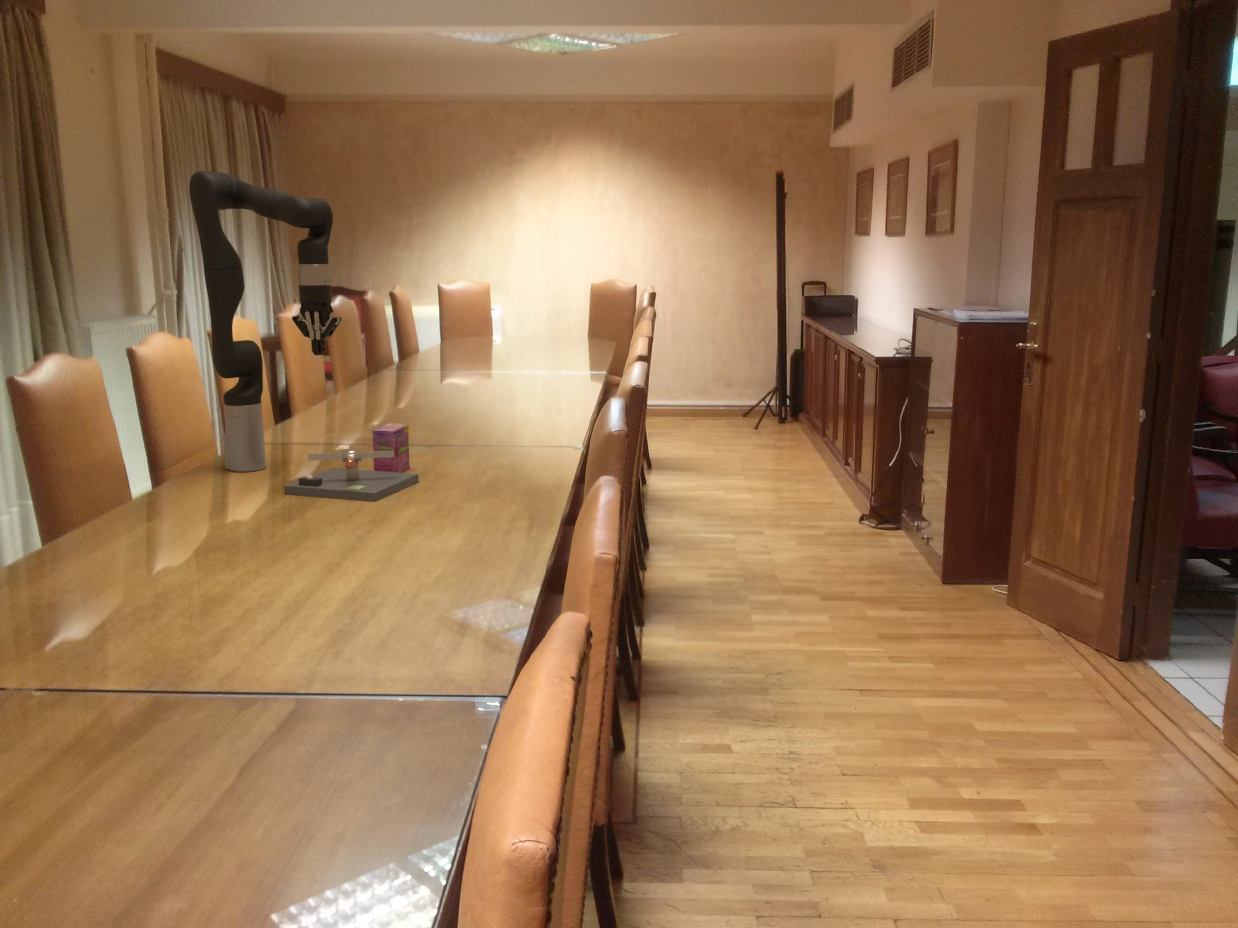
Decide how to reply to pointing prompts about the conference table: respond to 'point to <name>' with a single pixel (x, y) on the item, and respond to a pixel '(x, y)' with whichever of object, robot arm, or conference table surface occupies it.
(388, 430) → the box
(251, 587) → the conference table surface
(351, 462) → the capstan
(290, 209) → the robot arm
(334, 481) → the stand
